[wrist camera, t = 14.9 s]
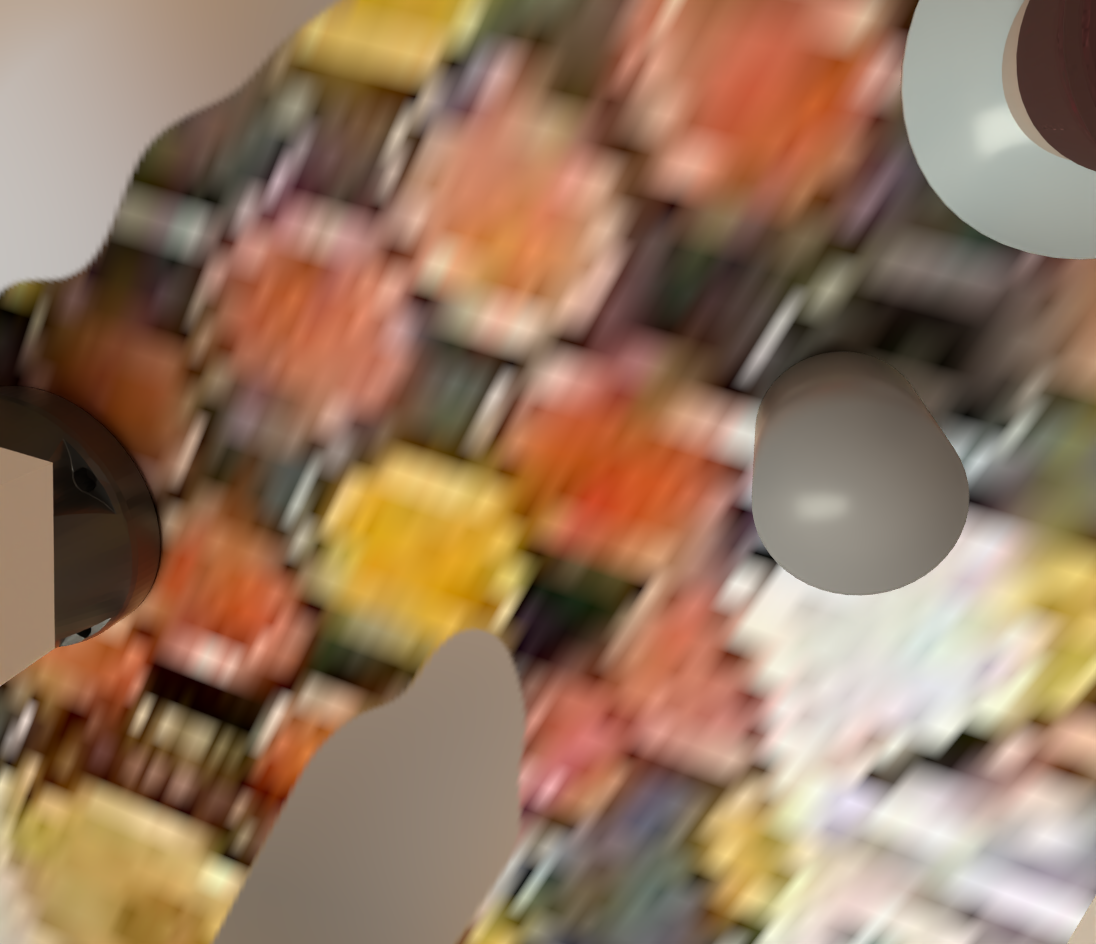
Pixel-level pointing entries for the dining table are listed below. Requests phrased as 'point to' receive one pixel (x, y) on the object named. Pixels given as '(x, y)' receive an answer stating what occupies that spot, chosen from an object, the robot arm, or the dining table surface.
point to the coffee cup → (1054, 76)
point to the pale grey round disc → (987, 135)
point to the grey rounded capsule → (854, 477)
